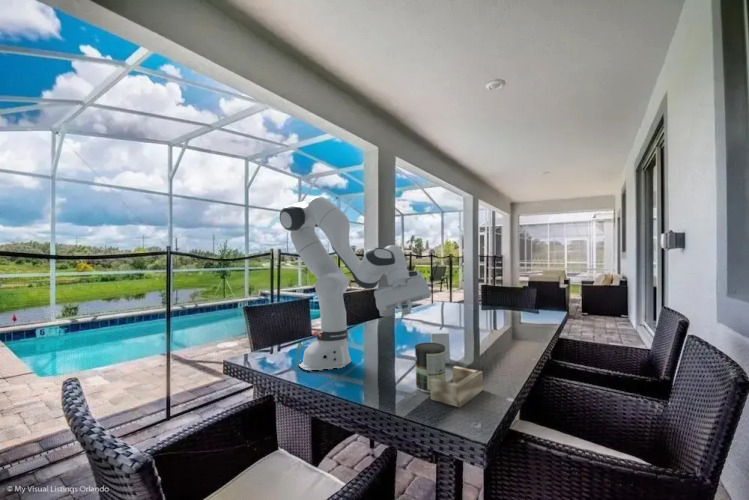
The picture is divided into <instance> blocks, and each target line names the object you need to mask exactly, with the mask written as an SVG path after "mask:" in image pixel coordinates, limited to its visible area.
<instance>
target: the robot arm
mask: <svg viewBox="0 0 749 500" xmlns="http://www.w3.org/2000/svg"><path fill="white" fill-rule="evenodd" d="M279 222H280V224H281V226H282V228H284V229H285V230H286V231H289V232H290V235H289V236H290V239H291V243H292V244H293V247H294V249H295V250H296V252H297V254H298V255H299V257H300V258H301V260H302V262H303V264H304V265H305V267H306V268H307V270H308V271H310V272H311V273H312V275H314V277H315V278H316V279H317V280H316V281H315V283H314V285H315V286H314V289H315V292H316V295H317V300H318V305H319V312H320V313H319V314H320V329H319V330H313V332H312V334H313V336H316V339H315V340H314V341H312V343H311V344H310V345H309V346H307V347H306V348H305V349H304V352H303V359H302V360H303V362H302V363H301V364H299V366H300V367H301V368H303V369H305V370H319V371H324V370H323V369H328V370H334V369H333V368H337V369H344V368H345V367H346V366H347V365H349V364H351V362H352V359H351V357H350V353H349V347H348V345H349V344H348V339H349V331H348V328H347V310H346V305H345V301H344V294H345V292H346V291H347V289H348V287H349V279H348V277H347V276H346V275H345V274H344V272H343V271H342V269H341V268H340V266H338V264H337V262H336V261H334V260H333V258H332V257H331V255H330V254H329V253H328V251H327V249H326V248H325V246H324V244H323V243H322V241H321V240H320V238H319V237H318V236H317V234H316V232H315V229H316V228H319V229H320V230H321V231H322V232H323V233H324V234H325V236H326V237H327V240H328V241H329V243H330V246H331V247H332V250H333V252H334V253H335V254H336V256H337V257H338V258H339V260H340V261H341V262H342V264H344V266H345V267H346V269H347V270H348V271H349V272H350V274H351V276H352V277H353V279H354V282H355V283H356V284H357V285H358V286H359V287H360V288H363V289H369V290H371V289H374V288H376V287H377V286H378V284H379V283H380V280H381V278H382V276H383V275H385V277H386V281H387V285H383V286H380V287H377V288H376V289H375V290H374V291H373V296H374V298H375V305H376V308H377V310H379V312H383V311H384V312H385V311H387V310H390V309H395V308H398V309H399V310H400V312H401V314H402V316H407V315H410V314H412V311H411V309H412V306H413V303H416V302H420V301H423V300H425V299H426V300H427V299H431V296H432V292H431V289H430V287H429V285H428V282H427V281H426V279H425V277H423V275H422V273H421V271H420V270H409V269H408V263H407V259H406V256H405V254H404V252H403V250H402V249H401V247H400V246H398V245H396V244H395V245H394V244H391V245H387V246H385V247H371V248H368V250H366V252H365V254H364V255H363V258H362V259H361V260H360V259H359V257H358V256H357V254H356V253H355V252H354V251H353V250H352V248H351V245H350V228H351V223H350V220H349V218H348V216H347V215H346V214H345V212H344V211H342V210H341V209H340V208H339V206H337V205H335V204H334V203H333V202H332V201H330V200H328V198H325V197H324V196H320V195H319V196H315V197H313V198H312V199H308V200H301V201H299V202H297V203H293V204H290V205H287V206H285V207H284V208H282V209H281V210H280V212H279ZM404 305H407V307H404V308H403V306H404ZM343 367H344V368H343Z"/></svg>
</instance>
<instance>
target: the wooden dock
mask: <svg viewBox="0 0 749 500" xmlns="http://www.w3.org/2000/svg"><path fill="white" fill-rule="evenodd" d="M483 378H484V376H483V371H482V370H477V369H471V368H467V367H461V366H457V365H454V366H453V367H452V382H451V381H446V380H445V381H443V380H439V379H435V378H433V379H431V380H430V391H431V393H430V400H433V401H436V402H440V403H442V404H443V403H444V404H446V405H450V406H454V407H456V408H461V407H463V406H464V405H465V404H467V403H468V402H469V401H470V400H471V399H473V398H474V397H475V396H477V395H479V393H481V392H482V391H483V390H484V381H483V380H484V379H483Z"/></svg>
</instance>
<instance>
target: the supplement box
mask: <svg viewBox="0 0 749 500" xmlns="http://www.w3.org/2000/svg"><path fill="white" fill-rule="evenodd" d="M430 343H439V344H442V345H444V346H445V364H451V352H450V351H451V349H450V333H449V331H448V330H447V329H431V330H430Z"/></svg>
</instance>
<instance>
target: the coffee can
mask: <svg viewBox="0 0 749 500" xmlns="http://www.w3.org/2000/svg"><path fill="white" fill-rule="evenodd" d="M414 351H415V352H414V353H415V355H414V356H415V358H414V359H415V388H416V389H417V390H418V391H419V392H422V393H427V394H428V393H429V394H431V391H430V380H431V379H433V378H435V379H439V380H443V381H446V363H445V346H444V345H442V344H439V343H431V342H420V343H417V344H415V345H414Z"/></svg>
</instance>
